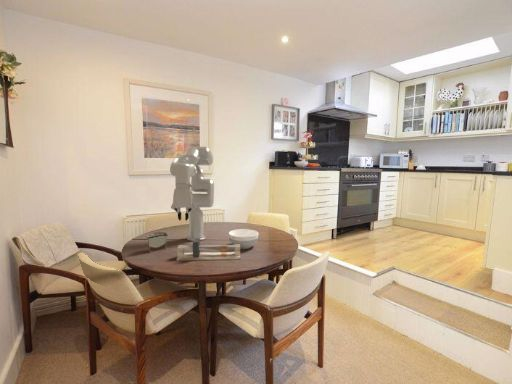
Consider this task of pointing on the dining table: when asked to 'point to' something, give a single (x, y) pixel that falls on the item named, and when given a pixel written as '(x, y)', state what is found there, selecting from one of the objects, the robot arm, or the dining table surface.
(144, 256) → the dining table surface
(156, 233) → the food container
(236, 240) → the bowl
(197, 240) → the collar
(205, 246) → the pipe rig
